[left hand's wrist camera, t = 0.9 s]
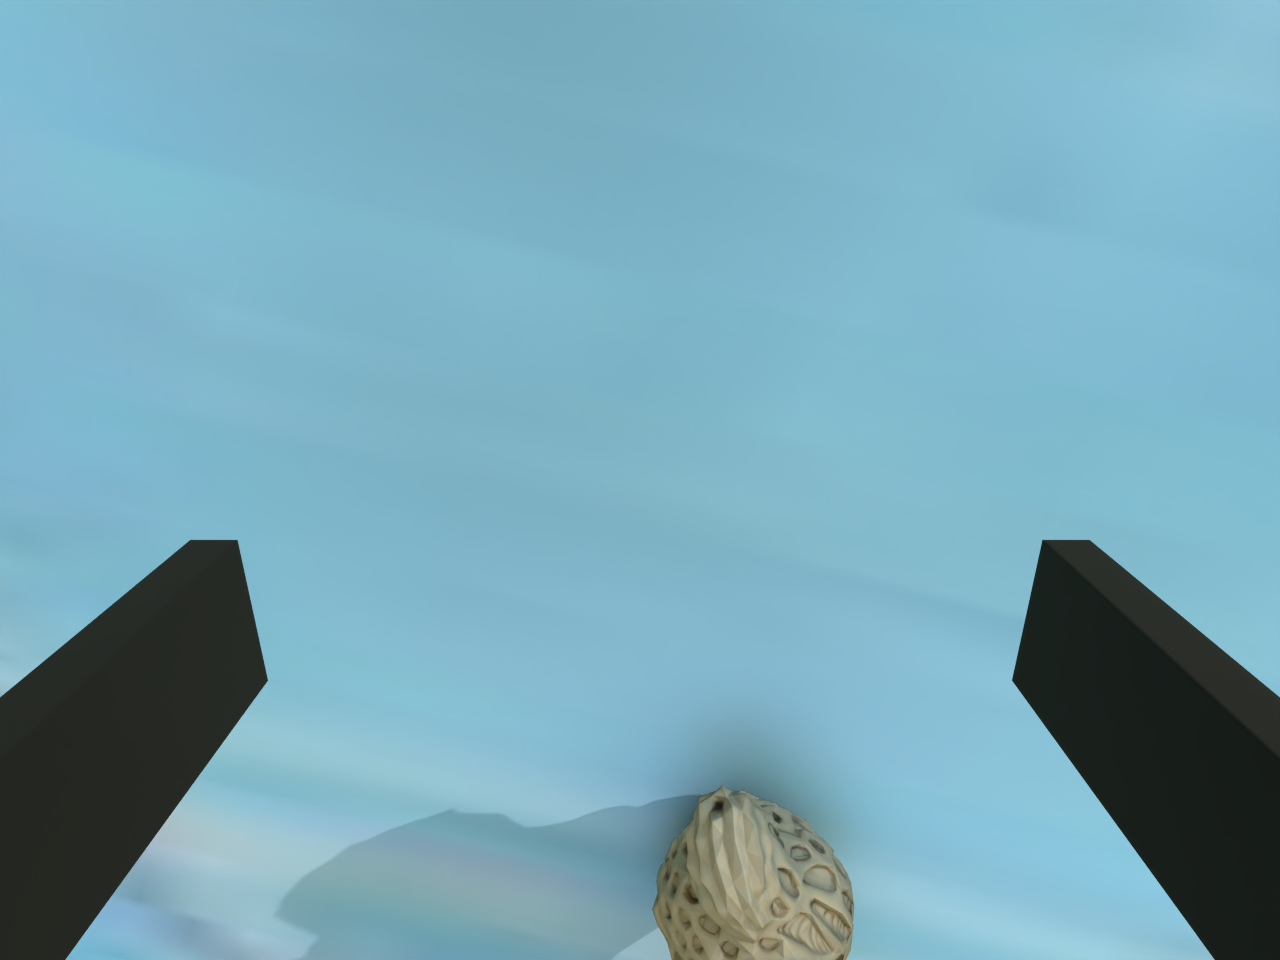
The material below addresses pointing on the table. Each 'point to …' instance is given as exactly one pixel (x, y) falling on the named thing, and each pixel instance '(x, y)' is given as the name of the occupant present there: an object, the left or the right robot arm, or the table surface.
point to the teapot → (752, 886)
